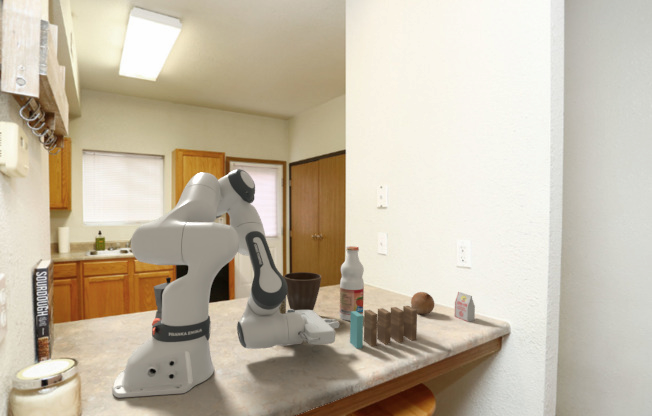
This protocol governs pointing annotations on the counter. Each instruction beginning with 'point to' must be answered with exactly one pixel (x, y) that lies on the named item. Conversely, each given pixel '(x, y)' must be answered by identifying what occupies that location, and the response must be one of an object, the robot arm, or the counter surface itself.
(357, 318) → the teal domino tile
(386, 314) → the domino
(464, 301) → the tea bag
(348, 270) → the fruit juice
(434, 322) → the counter surface
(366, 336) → the domino
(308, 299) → the plant pot
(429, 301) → the onion
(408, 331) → the domino
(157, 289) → the coffeepot
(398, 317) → the domino
